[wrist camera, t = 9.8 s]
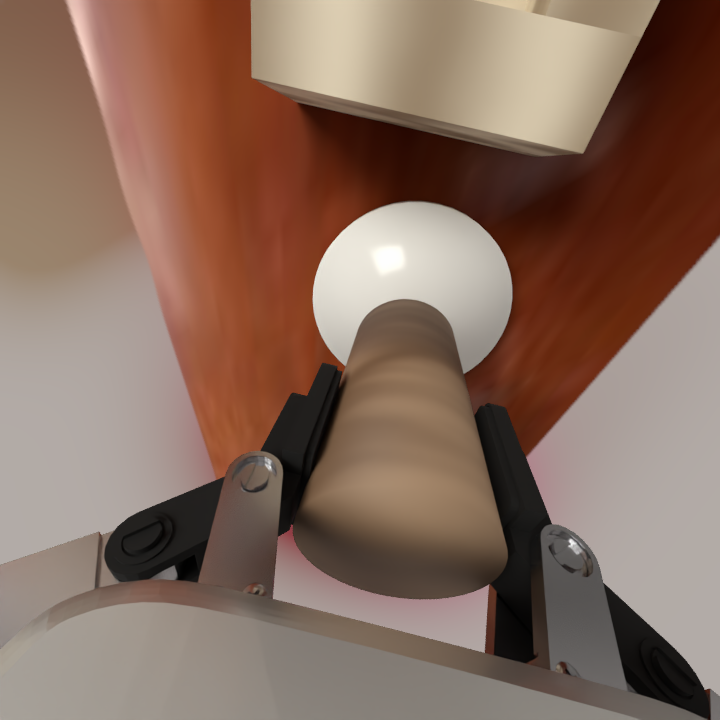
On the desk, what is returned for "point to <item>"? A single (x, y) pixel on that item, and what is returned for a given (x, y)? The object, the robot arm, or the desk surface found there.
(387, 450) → the walnut peg
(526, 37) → the birch holder
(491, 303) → the white round dome
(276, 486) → the robot arm
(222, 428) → the desk surface
